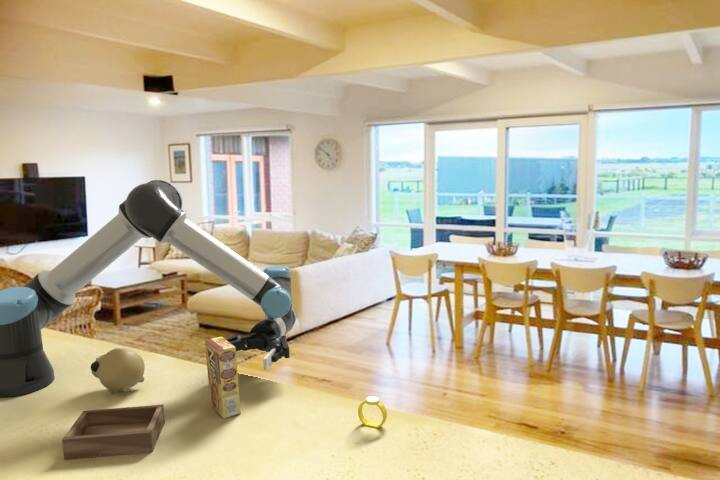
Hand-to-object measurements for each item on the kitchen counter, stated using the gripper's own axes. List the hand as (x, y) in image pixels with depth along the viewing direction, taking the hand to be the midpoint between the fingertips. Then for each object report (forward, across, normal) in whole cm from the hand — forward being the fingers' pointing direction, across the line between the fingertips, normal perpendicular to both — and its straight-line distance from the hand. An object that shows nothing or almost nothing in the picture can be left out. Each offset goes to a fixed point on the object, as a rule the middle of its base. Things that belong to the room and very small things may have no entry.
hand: (236, 363), depth 134 cm
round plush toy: (+1, +30, -8) cm, 31 cm away
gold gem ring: (+10, -33, -8) cm, 36 cm away
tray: (+23, +16, -8) cm, 29 cm away
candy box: (+7, 0, -8) cm, 11 cm away
